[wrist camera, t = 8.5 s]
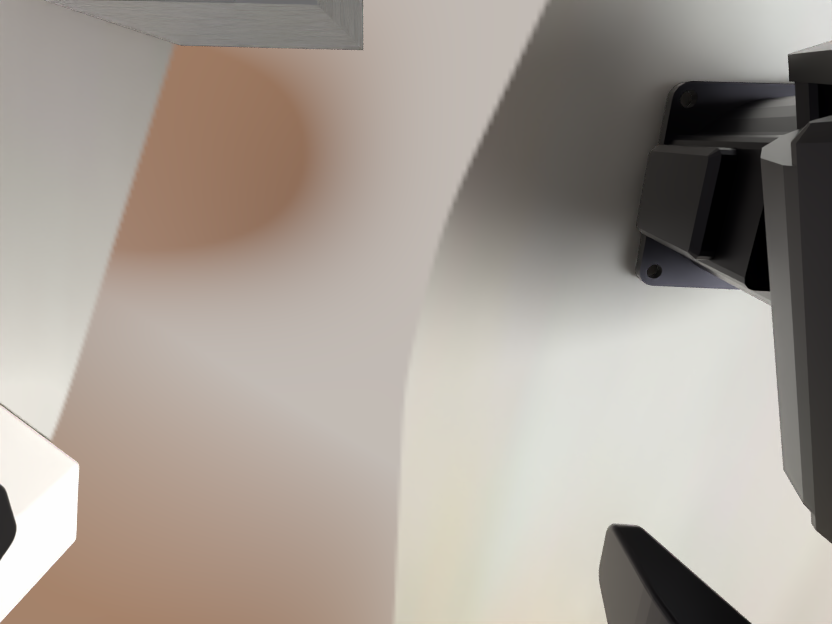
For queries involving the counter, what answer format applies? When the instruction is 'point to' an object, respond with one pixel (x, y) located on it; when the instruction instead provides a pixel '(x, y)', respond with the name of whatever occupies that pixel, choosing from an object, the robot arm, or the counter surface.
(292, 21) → the gray rectangular block
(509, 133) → the counter surface
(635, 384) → the counter surface
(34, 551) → the jar
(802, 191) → the robot arm
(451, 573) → the counter surface
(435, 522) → the counter surface
